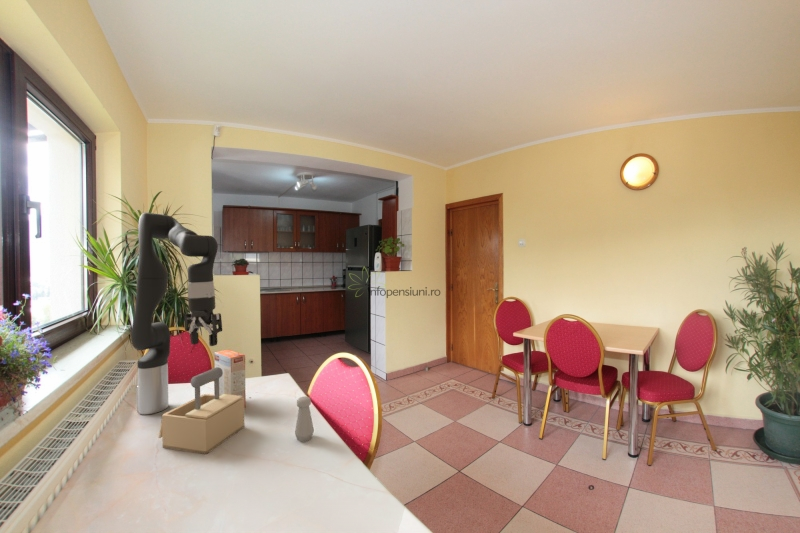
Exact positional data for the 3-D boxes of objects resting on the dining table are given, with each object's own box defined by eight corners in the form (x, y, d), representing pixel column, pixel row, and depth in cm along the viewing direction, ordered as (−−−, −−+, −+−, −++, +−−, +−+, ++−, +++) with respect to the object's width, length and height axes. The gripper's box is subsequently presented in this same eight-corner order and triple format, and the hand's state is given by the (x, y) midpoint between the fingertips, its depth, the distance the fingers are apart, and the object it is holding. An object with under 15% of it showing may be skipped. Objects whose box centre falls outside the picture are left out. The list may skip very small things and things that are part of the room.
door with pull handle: (182, 415, 97) (181, 379, 97) (221, 395, 112) (220, 364, 112) (206, 418, 95) (205, 381, 95) (242, 397, 110) (242, 365, 109)
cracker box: (246, 407, 125) (246, 354, 125) (230, 413, 120) (229, 358, 120) (230, 398, 134) (229, 348, 133) (214, 403, 129) (213, 351, 128)
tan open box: (156, 446, 99) (156, 414, 99) (200, 421, 115) (199, 393, 114) (206, 454, 95) (205, 420, 95) (244, 426, 110) (243, 397, 110)
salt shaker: (317, 435, 105) (316, 395, 104) (306, 444, 99) (306, 403, 99) (302, 432, 106) (301, 393, 106) (291, 441, 101) (290, 400, 101)
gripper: (175, 297, 105) (177, 346, 105) (206, 297, 100) (209, 349, 100) (197, 294, 112) (199, 341, 112) (227, 294, 107) (229, 343, 107)
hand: (204, 344), depth 106 cm, fingers open, 8 cm apart
